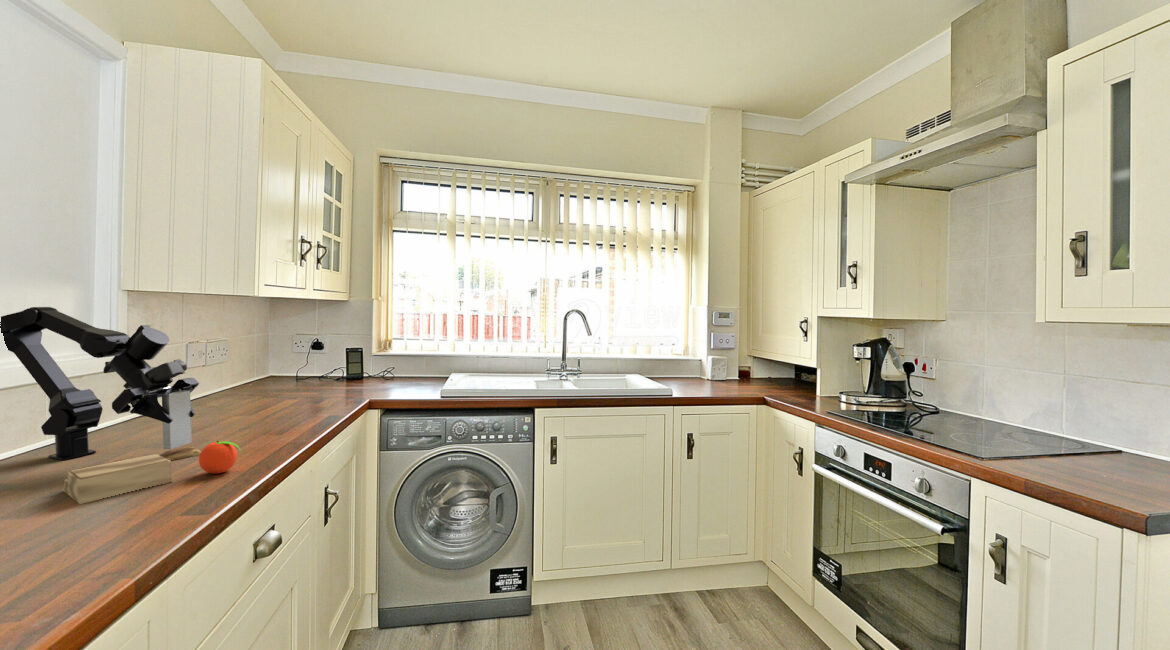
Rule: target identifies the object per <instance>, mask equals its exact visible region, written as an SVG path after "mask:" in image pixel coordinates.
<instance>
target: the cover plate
mask: <svg viewBox="0 0 1170 650" xmlns="http://www.w3.org/2000/svg"><path fill="white" fill-rule="evenodd" d="M190 402H191V393H190V391H178V392H174V393H169V394H164V395H162V397H161V406H162V407H163V408H164V410H165V411H166V412H167V413H168V414H169V415H170V417H171V418H172V420H173V421H172V422H171V423H165V422H162V442H163V450H174V449H177V448H179V447H183V446H184V445H185V446H186V445H188V444H190V443H191V444H192V442H193V441H192V417H191V405H192V403H190Z"/></svg>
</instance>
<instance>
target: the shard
mask: <svg viewBox="0 0 1170 650" xmlns="http://www.w3.org/2000/svg"><path fill="white" fill-rule="evenodd" d="M200 453H201V450H200V449H199V448H197V447H195V446H192V445H188V446H184V447H183V446H182V447H180V448H179V447H178V448H173V449H169V450H167V451H165V452H163V453H161V454H159V455H160V456H162V457H164V458H166V459H168V460H170V461H171V460H172V461H175V459H177V460H181V459H185V458H191V457H196V456H199V455H200ZM172 461H171V462H172Z"/></svg>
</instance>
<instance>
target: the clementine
mask: <svg viewBox="0 0 1170 650" xmlns="http://www.w3.org/2000/svg"><path fill="white" fill-rule="evenodd" d="M236 448H238V450H239V451H240V452H242V450H241V448H240V447H239V446H238V444H236V443H234V442H231V441H224V440H223V441H220V440H217V441H215V442H211V443H209V444H208V445H206V446H205V447H203V449H202V450H200V452H201V453H200V455H198V456H199V457H198V464H199V466H200V468H201V469H202V470H203V471H204V472H207V473H209V474H215V475H216V474H217V475H218V474H222V473H225V472H226V471H229V470H230V469H232V467H234V465H235V464H236V462H237V460H238V451H237V449H236Z"/></svg>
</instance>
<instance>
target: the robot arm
mask: <svg viewBox="0 0 1170 650" xmlns="http://www.w3.org/2000/svg"><path fill="white" fill-rule="evenodd" d="M0 317H1V322H0V323H1V324H0V325H1V326H0V328H1V333H3V336H4V341H5V344H6V346H7V348H8V350H7V351H9V352H11V353H13V354H14V355H15V356H16V357H17V359H18V360H19V362H20V363H21V364H22V366H23V367H24V368H25V369H26V371H27V372H28V373H29V375H31V377H32V378H33V379H34V381H36V383H37V384H38V385H39V387H40V388H41V390H42V391H43V392H44V393H45V395H46V396H47V397H48V399H49V405H48V412H49V414H50V417H49V418H47V420H46V421H45V422H43V424H42V425H41V426H40V427H41V431H42V433H43V435H44V436H54V442H55V443H54V444H55V453H54V454H49V455H47V456H48V458H50V459H54V460H55V459H56V460H61V461H64V460H70V459H73V458H79V457H84V456H87V455H92V454H96V453H97V450H95V449H90V448H89V429H91V428H96V427H97V428H98V426H99V422H100V420H101V416H102V413H103V406H102V404H101V402H102V400H101V399H99V398H98V397H97V396H96V394H95V392H94V391H93V390H91V389H90V388H88V389H83V390H82V389H79V388H77V387H76V386H75V385H74V384H73V383H72V381H71V380H70V379H69V378H68V376H67V375H66V374H65V372H64V371H63V370H62V368H60V366H59V365H58V364H57V362H56V361H55V359H54V358H53V357H52V355H51V354H50V353H49V352H48V351H47V349H46V348H45V347H44V346H43V344H42V343H41V342H42V337H43V331H44V330H48V331H51V332H54V333H55V334H58V335H60V336H63V337H65V338H66V339H69V340H71V341H74V342H75V343H77V344H79V347H80V349H81V350H82V351H83V352H86V353H87V354H88V355H89V356H92V357H93V358H96V359H100V358H109V357H113V358H112V359H111V360H110V361H105V362H104V367H103V374H110V373H116V374H117V375H118V376H119V377H120V378H121V379H122V380H123V381H124V382H125V383H124V384H123V388H125V389H123V390H122V391H121V393H119V394H118V396H117V397H115V399H114V400H113V401H112V402H111V409H112V410H113V411H114V412H115V413H116V414H117V415H120V414H124V413H130V414H135V415H140V416H143V417H148V418H149V419H150V418H151V419H153V420H156V421H157V420H158V421H160V422H162V423H163V422H165V423H171V422H172V421H173V420H172V418H171V417H170V415H169V414H168V413H167V412H166V411H165V410H164V408H163V407H162V404H160V402H159V398H162V395H164V394H169V393H174V392H178V391H190V394H191V393H193V391H194V390H195V389H196V388H197V387H198V386H199V385H200V382H199V381H198V380H197V379H196V378H195V377H187V378H180V379H178V380H176V381H175V383H174V384H172V383H173V382H174V378H175V377H178V376H180V375H184V374H186V373H185V372H186V371H187V369H188V366H187V364H186V363H185V362H184V361H183V360H181V359H180V358H179V359H174V360H173V361H170V362H163V363H162V364H160V365H157V366H151V365H150V364H149V363H148V362H147V361H152V360H153V359H155V358H156V356H157V355H158V354H160V353H161V352H162V350H163V349H164V348H165V347H166V346H167V345H168V344H169V342H170V338H169V335H167V333H165V332H163V331H160V330H159V329H157V328H154V327H151V326H150V325H149V324H144V325H143V324H142V325H139V327H138V328H137V329H136V331H135V332H134V333H133V334H132V335H131V336H129V335H128V334H126V333H125V332H121V331H116V330H114V329H113V330H112V329H105V328H99V327H95V326H92V325H91V324H89V323H87V322H84V321H81V320H79V319H77V318H74V317H72V316H71V315H67V314H66V313H63V312H61V311H59V310H58V309H57V308H55V307H51V306H32V307H28V308H26V309H25V308H24V309H23V310H22V311H16V312H13V313H10V314H6V315H1V316H0ZM169 384H172V386H169ZM190 403H191V401H190ZM131 407H132V408H131ZM195 415H196V414H195V411H194V408H193V405H192V403H191V418H193V417H194V416H195Z"/></svg>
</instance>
